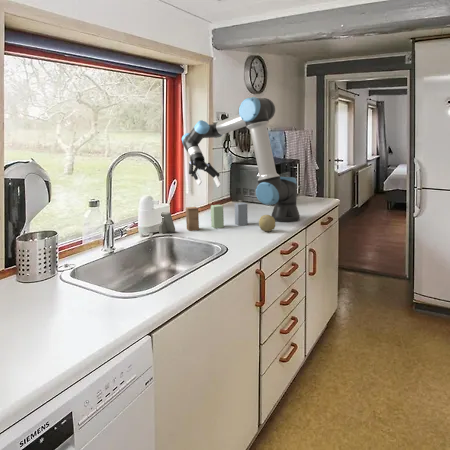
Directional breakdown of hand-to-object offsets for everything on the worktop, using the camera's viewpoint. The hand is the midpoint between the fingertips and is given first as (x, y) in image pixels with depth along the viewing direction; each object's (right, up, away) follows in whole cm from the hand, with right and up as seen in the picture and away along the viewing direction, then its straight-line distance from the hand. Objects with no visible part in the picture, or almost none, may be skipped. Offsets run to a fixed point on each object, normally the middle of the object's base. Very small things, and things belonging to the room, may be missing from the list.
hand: (209, 184), depth 238 cm
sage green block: (+4, -23, -13) cm, 27 cm away
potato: (+28, -25, -26) cm, 46 cm away
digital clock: (-24, -25, -19) cm, 40 cm away
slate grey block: (+17, -21, -9) cm, 29 cm away
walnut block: (-8, -24, -18) cm, 31 cm away
